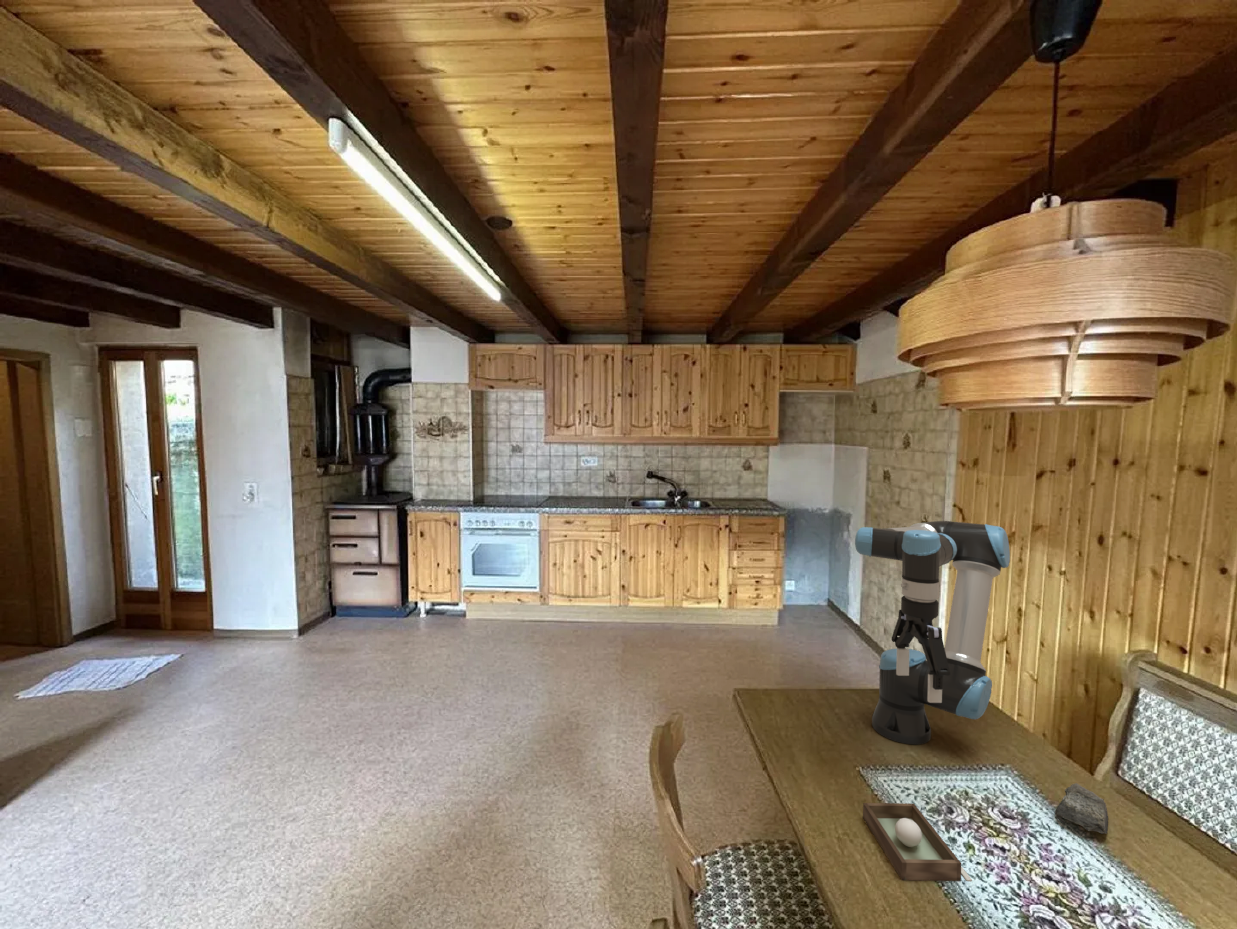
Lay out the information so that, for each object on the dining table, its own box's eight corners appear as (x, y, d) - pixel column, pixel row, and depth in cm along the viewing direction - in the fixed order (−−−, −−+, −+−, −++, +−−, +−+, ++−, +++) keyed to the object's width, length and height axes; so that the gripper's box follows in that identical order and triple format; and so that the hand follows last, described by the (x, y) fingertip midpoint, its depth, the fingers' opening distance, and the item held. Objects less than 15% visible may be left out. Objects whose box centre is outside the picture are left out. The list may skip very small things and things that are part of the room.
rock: (1105, 848, 110) (1105, 816, 110) (1051, 827, 116) (1052, 797, 116) (1109, 816, 119) (1110, 788, 119) (1059, 798, 125) (1060, 771, 125)
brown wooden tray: (913, 818, 118) (913, 803, 118) (960, 881, 102) (961, 863, 102) (863, 818, 119) (863, 803, 118) (901, 880, 102) (902, 862, 102)
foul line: (923, 818, 118) (923, 817, 118) (971, 881, 102) (971, 880, 102) (918, 818, 118) (918, 817, 118) (966, 881, 102) (966, 879, 102)
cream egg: (914, 836, 112) (914, 813, 112) (926, 854, 108) (927, 830, 107) (890, 835, 113) (890, 812, 112) (901, 853, 108) (902, 829, 108)
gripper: (877, 583, 135) (876, 665, 136) (934, 615, 111) (932, 715, 111) (907, 583, 135) (905, 665, 136) (970, 615, 110) (968, 715, 111)
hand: (917, 687), depth 124 cm, fingers open, 13 cm apart
